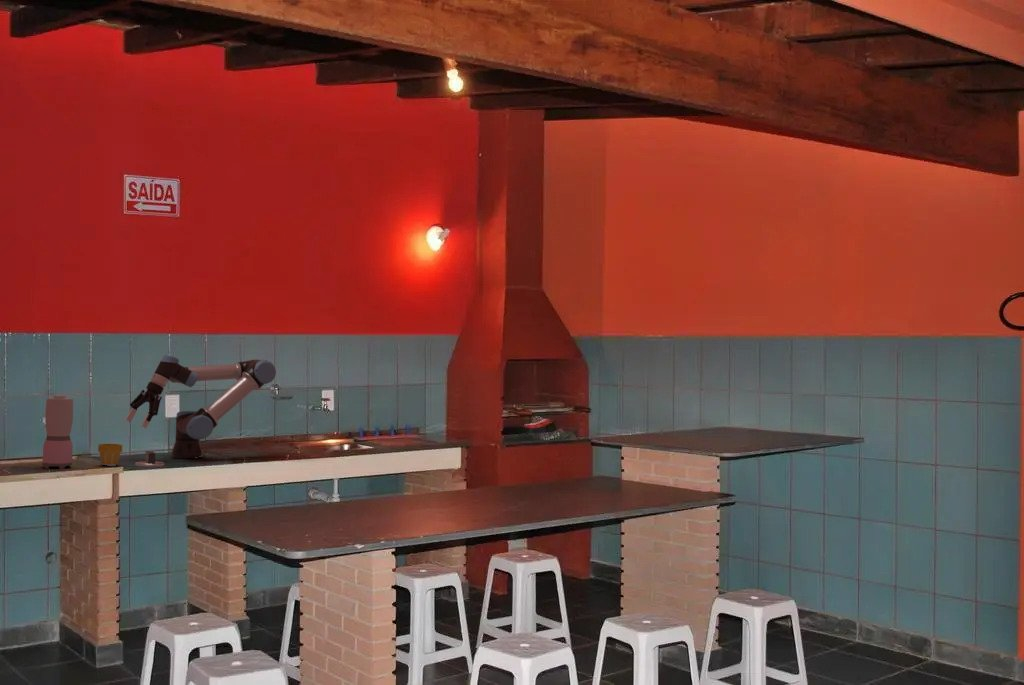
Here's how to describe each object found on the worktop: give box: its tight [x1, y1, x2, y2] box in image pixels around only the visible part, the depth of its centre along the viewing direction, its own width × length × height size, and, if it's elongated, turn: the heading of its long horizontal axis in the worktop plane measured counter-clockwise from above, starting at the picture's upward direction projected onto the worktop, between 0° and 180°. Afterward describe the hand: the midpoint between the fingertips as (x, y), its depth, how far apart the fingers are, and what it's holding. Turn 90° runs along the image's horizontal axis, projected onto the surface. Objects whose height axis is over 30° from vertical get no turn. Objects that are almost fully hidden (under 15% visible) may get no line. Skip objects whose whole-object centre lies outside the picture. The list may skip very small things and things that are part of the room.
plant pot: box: [97, 443, 123, 465], centre depth 494 cm, size 10×10×10 cm
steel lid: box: [134, 450, 166, 467], centre depth 504 cm, size 13×13×6 cm
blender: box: [41, 394, 74, 470], centre depth 482 cm, size 16×12×32 cm
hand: (135, 424), depth 514 cm, fingers open, 13 cm apart
